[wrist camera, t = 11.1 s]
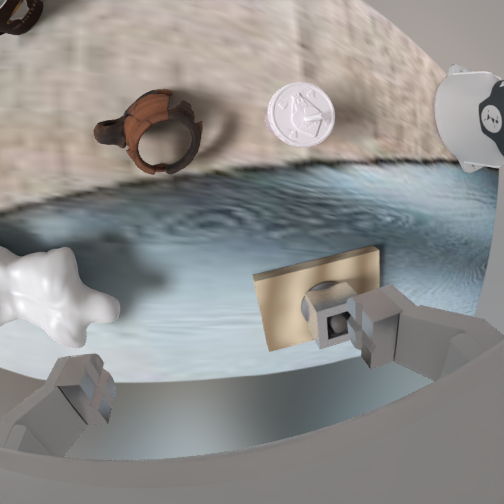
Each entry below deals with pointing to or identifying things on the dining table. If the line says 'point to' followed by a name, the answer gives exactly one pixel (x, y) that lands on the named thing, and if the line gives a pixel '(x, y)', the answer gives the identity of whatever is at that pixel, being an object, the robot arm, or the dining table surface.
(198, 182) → the dining table surface
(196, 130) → the brown hollow curved piece
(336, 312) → the grey hollow square block
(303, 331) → the post block
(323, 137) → the smoothie
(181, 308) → the dining table surface
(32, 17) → the coffee mug
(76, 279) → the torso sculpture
